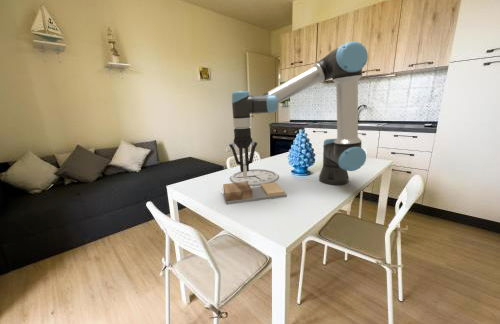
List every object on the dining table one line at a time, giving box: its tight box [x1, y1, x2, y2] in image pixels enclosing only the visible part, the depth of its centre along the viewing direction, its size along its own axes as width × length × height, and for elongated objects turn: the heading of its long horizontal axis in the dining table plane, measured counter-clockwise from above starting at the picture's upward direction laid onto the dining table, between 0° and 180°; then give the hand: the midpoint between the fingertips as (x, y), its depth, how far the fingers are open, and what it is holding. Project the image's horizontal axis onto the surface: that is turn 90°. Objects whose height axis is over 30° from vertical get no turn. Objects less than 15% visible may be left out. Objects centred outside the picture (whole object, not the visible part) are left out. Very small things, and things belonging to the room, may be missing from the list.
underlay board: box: [225, 181, 288, 205], centre depth 106 cm, size 28×14×2 cm, turn 101°
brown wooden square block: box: [222, 182, 252, 203], centre depth 104 cm, size 4×12×12 cm
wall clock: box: [229, 168, 280, 187], centre depth 132 cm, size 30×2×30 cm
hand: (245, 178), depth 103 cm, fingers closed
